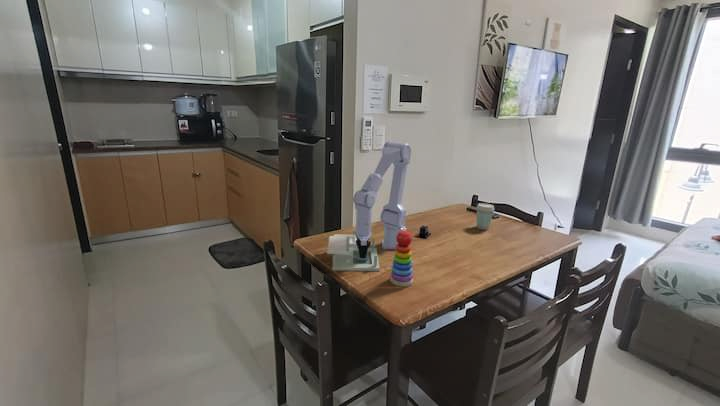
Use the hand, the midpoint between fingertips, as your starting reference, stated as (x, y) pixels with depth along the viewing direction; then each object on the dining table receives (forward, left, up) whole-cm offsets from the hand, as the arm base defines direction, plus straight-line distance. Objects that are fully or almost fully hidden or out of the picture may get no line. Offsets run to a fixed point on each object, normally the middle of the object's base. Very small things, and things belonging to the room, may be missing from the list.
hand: (362, 255), depth 130 cm
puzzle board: (+3, 0, -2) cm, 3 cm away
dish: (+7, -17, -2) cm, 18 cm away
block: (0, 0, -1) cm, 1 cm away
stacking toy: (-13, +16, -2) cm, 21 cm away
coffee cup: (-62, -40, -2) cm, 74 cm away
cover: (+9, 0, +4) cm, 10 cm away
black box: (-29, -28, -3) cm, 41 cm away
